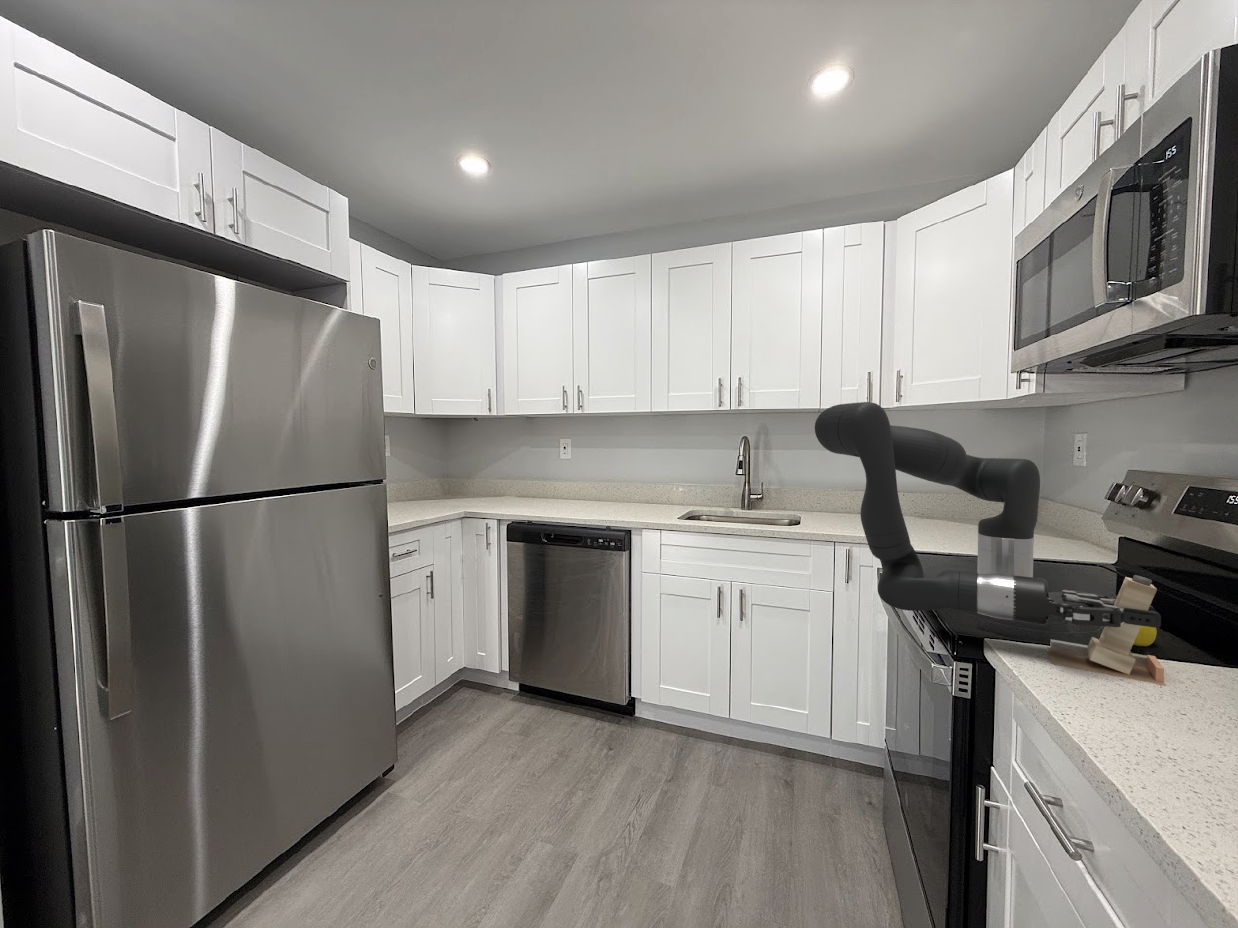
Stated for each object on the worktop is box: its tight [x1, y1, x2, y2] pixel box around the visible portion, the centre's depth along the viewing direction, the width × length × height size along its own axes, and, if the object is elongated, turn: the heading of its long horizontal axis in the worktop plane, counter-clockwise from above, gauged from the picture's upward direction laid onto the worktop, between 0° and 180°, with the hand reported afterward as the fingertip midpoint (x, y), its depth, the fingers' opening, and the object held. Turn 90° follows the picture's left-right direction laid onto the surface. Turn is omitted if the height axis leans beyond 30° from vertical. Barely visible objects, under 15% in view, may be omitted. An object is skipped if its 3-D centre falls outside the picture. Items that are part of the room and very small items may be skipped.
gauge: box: [1086, 574, 1158, 675], centre depth 77 cm, size 4×4×14 cm
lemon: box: [1133, 626, 1157, 647], centre depth 88 cm, size 6×6×8 cm
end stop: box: [1146, 654, 1165, 683], centre depth 76 cm, size 5×1×2 cm, turn 143°
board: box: [1046, 646, 1167, 686], centre depth 79 cm, size 8×13×2 cm, turn 53°
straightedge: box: [1049, 638, 1147, 668], centre depth 82 cm, size 1×12×2 cm, turn 53°
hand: (1156, 616), depth 75 cm, fingers closed on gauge, 3 cm apart
